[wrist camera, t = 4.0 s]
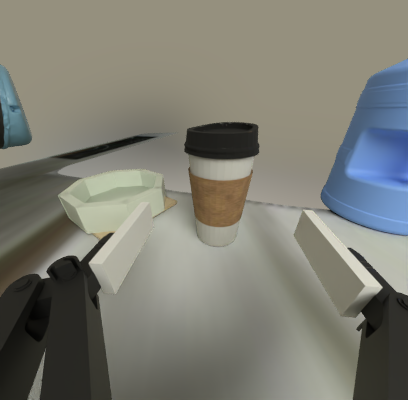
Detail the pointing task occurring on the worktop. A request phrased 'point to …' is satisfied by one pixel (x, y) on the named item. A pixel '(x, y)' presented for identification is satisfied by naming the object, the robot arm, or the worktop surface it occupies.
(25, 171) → the worktop surface
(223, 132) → the coffee cup
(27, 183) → the worktop surface
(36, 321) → the robot arm
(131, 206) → the bowl
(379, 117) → the water jug
